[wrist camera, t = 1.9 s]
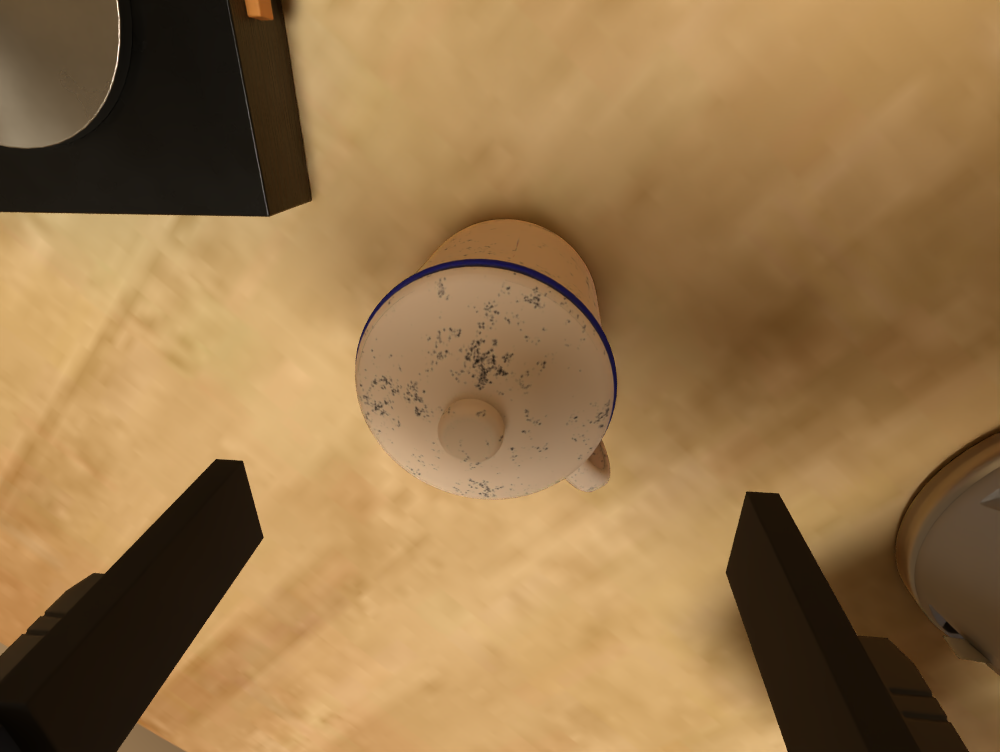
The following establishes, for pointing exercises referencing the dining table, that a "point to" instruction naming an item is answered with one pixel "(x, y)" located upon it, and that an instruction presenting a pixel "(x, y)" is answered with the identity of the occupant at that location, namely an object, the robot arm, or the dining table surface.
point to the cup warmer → (148, 108)
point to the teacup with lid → (492, 366)
